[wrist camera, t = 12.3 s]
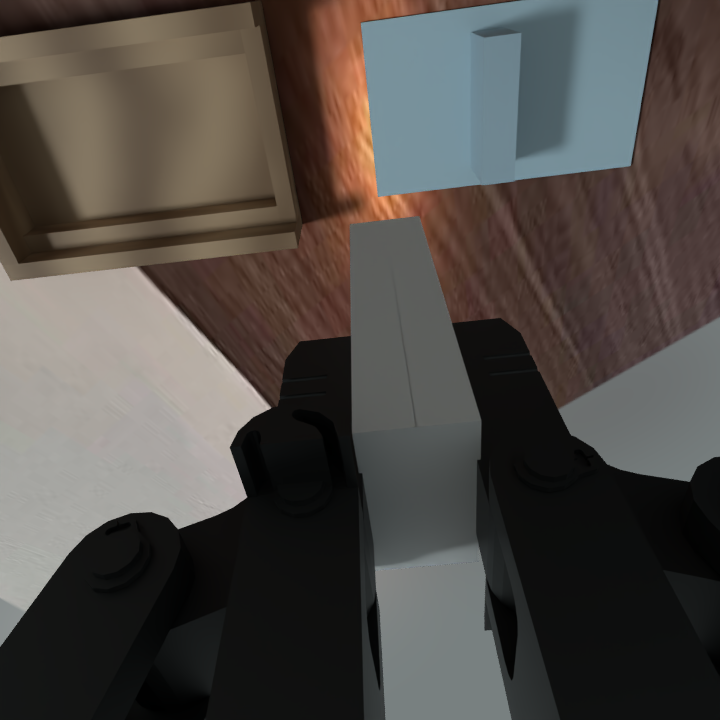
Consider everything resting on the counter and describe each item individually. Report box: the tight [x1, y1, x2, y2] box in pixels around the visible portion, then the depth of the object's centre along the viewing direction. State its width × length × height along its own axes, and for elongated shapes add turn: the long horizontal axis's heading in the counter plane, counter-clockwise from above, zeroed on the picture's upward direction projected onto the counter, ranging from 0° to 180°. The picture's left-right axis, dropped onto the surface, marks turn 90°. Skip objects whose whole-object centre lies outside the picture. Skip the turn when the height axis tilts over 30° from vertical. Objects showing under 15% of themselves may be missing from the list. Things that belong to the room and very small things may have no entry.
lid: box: [361, 0, 658, 197], centre depth 27 cm, size 14×8×4 cm, turn 97°
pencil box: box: [0, 0, 302, 281], centre depth 27 cm, size 16×11×3 cm
